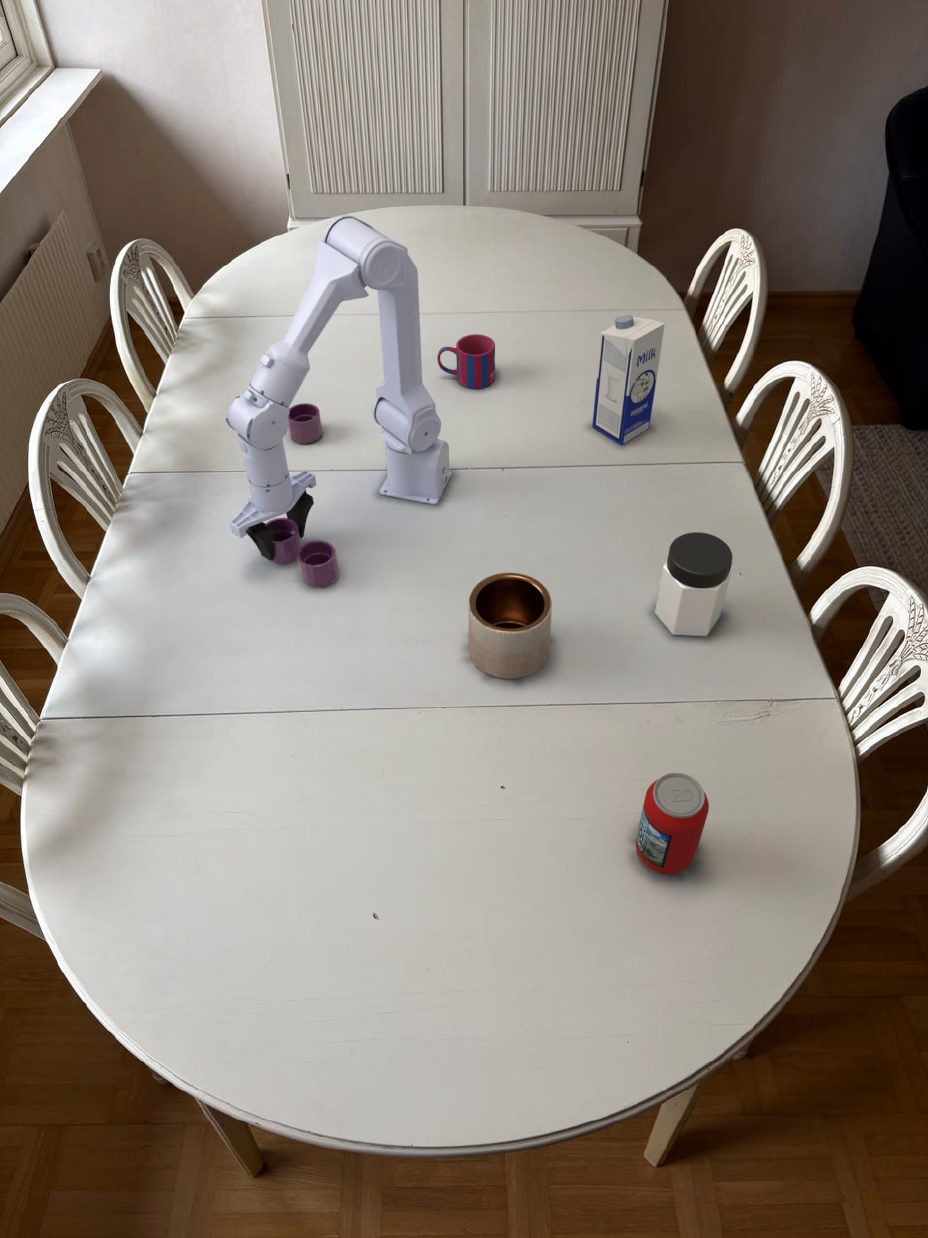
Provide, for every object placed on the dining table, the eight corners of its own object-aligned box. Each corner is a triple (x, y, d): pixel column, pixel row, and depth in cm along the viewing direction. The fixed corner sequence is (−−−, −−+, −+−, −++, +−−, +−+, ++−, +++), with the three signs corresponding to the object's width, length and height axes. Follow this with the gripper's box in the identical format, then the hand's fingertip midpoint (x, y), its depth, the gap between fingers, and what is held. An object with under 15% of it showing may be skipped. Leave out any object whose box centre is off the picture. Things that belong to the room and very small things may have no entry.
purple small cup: (344, 566, 146) (341, 544, 142) (330, 592, 142) (326, 570, 139) (310, 559, 147) (306, 537, 144) (295, 584, 143) (291, 562, 140)
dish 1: (308, 544, 149) (304, 521, 146) (293, 568, 146) (289, 546, 142) (275, 537, 150) (270, 514, 147) (260, 561, 147) (254, 539, 143)
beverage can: (629, 827, 116) (640, 769, 107) (686, 822, 116) (702, 764, 107) (641, 880, 111) (654, 824, 103) (700, 875, 112) (718, 819, 103)
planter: (456, 634, 136) (454, 586, 129) (527, 610, 139) (529, 561, 132) (488, 692, 130) (488, 644, 123) (563, 665, 132) (567, 617, 125)
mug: (492, 390, 174) (493, 356, 169) (436, 387, 175) (434, 353, 170) (496, 368, 179) (496, 334, 174) (441, 365, 180) (439, 332, 175)
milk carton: (620, 446, 163) (634, 339, 148) (591, 427, 167) (601, 321, 152) (650, 428, 166) (666, 321, 151) (620, 410, 170) (632, 304, 155)
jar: (731, 626, 136) (748, 564, 128) (681, 647, 134) (694, 585, 125) (693, 584, 142) (707, 522, 133) (644, 603, 140) (655, 541, 131)
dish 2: (327, 428, 168) (324, 406, 165) (315, 447, 165) (311, 425, 161) (298, 422, 169) (294, 400, 166) (285, 442, 166) (280, 419, 162)
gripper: (286, 436, 142) (300, 508, 152) (208, 488, 135) (227, 560, 145) (321, 456, 139) (332, 528, 149) (242, 510, 132) (260, 582, 142)
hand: (283, 545), depth 147 cm, fingers closed on dish 1, 5 cm apart
